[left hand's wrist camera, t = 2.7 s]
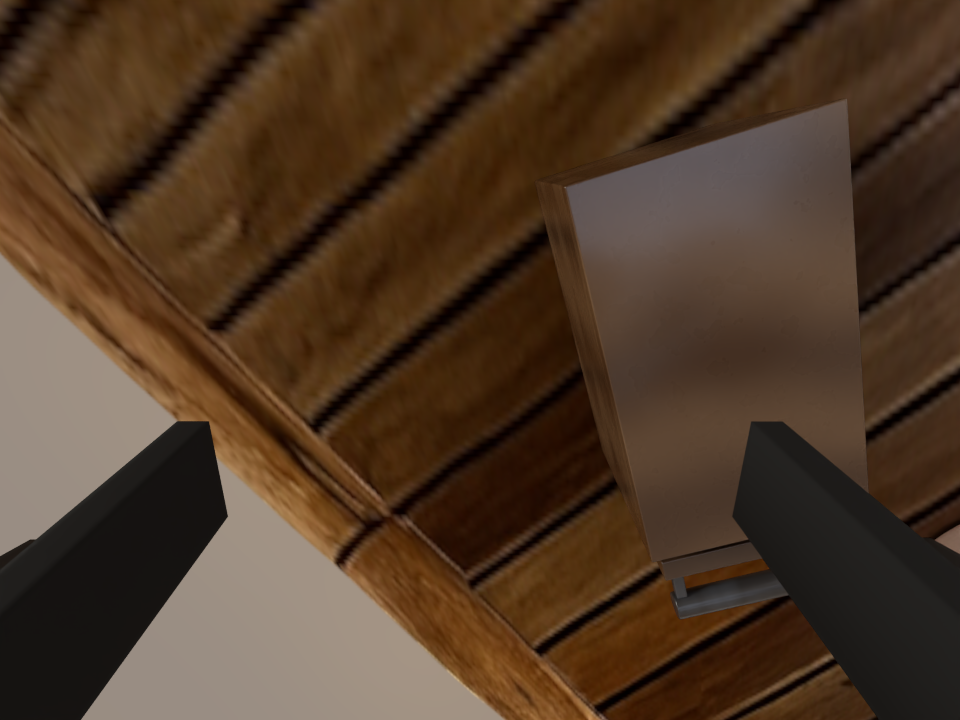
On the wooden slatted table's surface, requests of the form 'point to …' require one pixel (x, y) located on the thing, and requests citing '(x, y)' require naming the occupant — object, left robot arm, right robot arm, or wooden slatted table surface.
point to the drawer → (718, 592)
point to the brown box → (713, 309)
